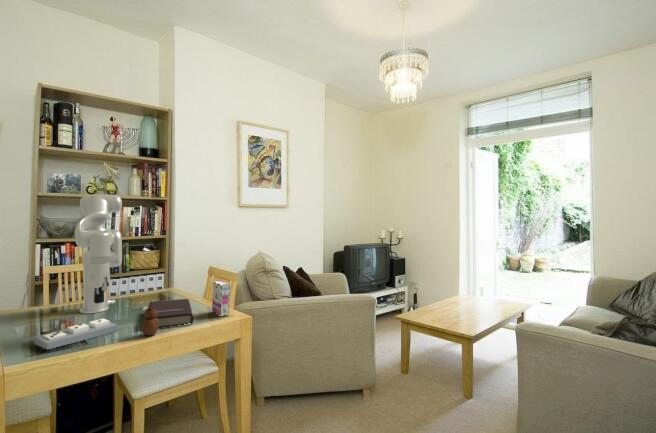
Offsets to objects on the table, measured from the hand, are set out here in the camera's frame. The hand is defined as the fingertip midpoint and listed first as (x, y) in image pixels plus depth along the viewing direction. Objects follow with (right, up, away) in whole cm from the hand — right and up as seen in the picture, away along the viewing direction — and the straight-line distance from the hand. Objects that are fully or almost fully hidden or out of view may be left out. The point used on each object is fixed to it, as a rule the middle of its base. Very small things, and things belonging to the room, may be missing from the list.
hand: (99, 302), depth 144 cm
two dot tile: (-4, -11, -6) cm, 14 cm away
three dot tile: (-8, -12, -13) cm, 20 cm away
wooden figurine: (+23, -14, -2) cm, 27 cm away
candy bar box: (+43, -14, +30) cm, 54 cm away
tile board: (-4, -13, -6) cm, 15 cm away
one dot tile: (0, -11, 0) cm, 11 cm away
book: (+21, -14, +21) cm, 33 cm away
